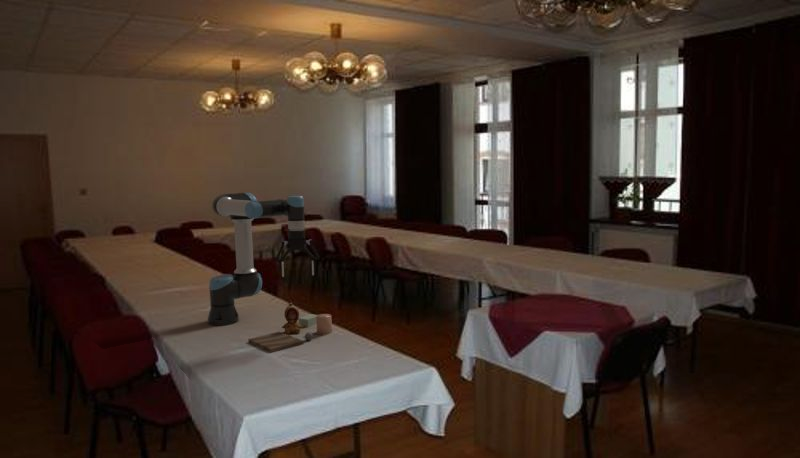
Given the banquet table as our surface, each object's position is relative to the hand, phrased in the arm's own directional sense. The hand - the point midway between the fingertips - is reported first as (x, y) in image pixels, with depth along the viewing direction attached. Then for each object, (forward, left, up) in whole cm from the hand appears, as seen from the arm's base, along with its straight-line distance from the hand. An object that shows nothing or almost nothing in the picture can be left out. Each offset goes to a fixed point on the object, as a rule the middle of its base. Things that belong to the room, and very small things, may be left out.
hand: (298, 275), depth 270 cm
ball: (+10, -2, -28) cm, 30 cm away
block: (-12, +13, -28) cm, 33 cm away
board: (+3, -15, -28) cm, 32 cm away
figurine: (-7, 0, -28) cm, 29 cm away
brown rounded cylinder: (+5, +10, -28) cm, 30 cm away
